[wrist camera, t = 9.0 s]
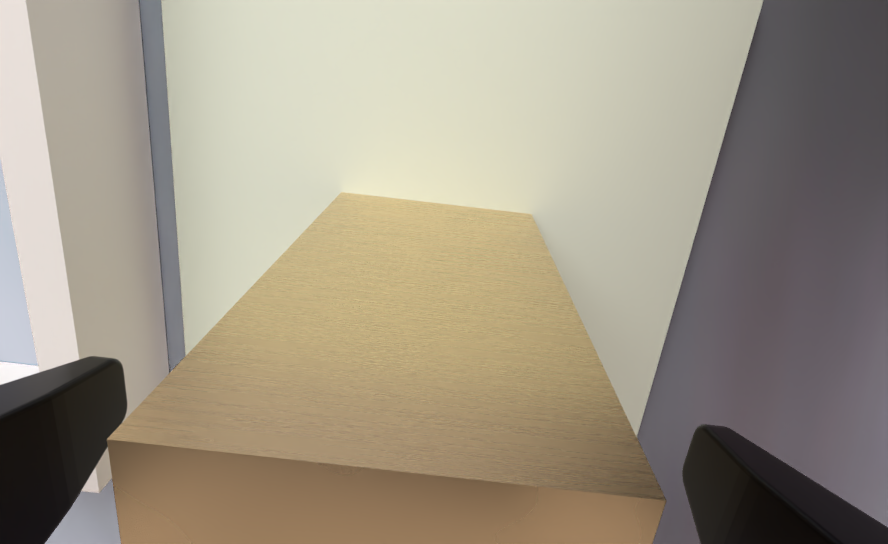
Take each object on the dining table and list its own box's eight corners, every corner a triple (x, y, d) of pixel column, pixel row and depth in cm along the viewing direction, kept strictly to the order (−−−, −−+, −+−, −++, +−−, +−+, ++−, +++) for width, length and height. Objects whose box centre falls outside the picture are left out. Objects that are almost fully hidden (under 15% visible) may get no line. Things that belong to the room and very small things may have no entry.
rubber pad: (751, -4, 10) (765, -7, 10) (595, 549, 15) (599, 564, 15) (170, -74, 10) (155, -81, 10) (205, 506, 15) (196, 520, 15)
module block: (531, 213, 11) (666, 501, 4) (496, 413, 13) (543, 872, 6) (340, 191, 11) (105, 438, 4) (332, 394, 13) (161, 832, 6)
